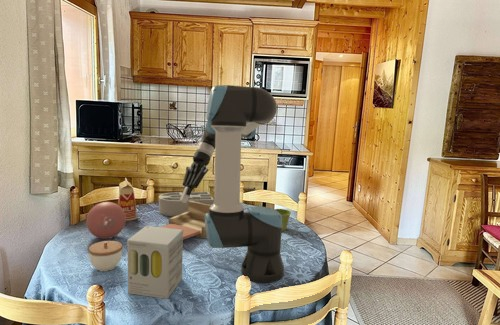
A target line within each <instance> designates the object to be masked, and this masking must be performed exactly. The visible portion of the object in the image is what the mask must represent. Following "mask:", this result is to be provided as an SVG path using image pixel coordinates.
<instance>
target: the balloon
mask: <svg viewBox="0 0 500 325" xmlns="http://www.w3.org/2000/svg"><path fill="white" fill-rule="evenodd" d="M85 220H86V227H87V229H88V231H89V233H91V234H92V235H93V236H94V237H95V238H99V239H103V240H104V239H105V240H107V239H113V238H115V237H116V236H118V235H119V234H120V233H121V232H122V231H123V229H124V228H125V226H126V222H127V221H126V216H125V213H124V211H123V209H122V208H121V207H120V206H119V205H118V203H116V202H111V201H103V202H99V203H97V204H95V205H94V206H93V207H92V208H91V209H90V210H89V211H88V213H87V216H86V219H85Z"/></svg>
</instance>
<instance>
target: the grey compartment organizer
mask: <svg viewBox="0 0 500 325" xmlns="http://www.w3.org/2000/svg"><path fill="white" fill-rule="evenodd" d="M182 192H183V191H181V192H180V191H179V192H177V191H176V192H164V193H161V194H160V195H158V212H159V214H161V215H162V216H166V217H175V216H177V215H180V214H182V213H185V212H187V211H188V201H194V202H199V203H204V204H209V205H213V204H214V197H213V196H211V193H210V192H209V191H192V192H191V194H190V196H189V198H188V200H187V202H186V203H183V202H181V201H180V198H181V196H182Z"/></svg>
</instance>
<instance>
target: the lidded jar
mask: <svg viewBox="0 0 500 325" xmlns="http://www.w3.org/2000/svg"><path fill="white" fill-rule="evenodd" d="M88 253H89V261H90V263H91V266H92V267H93V268H95V269H96V270H97V269H98V270H100V271H99V272H103V271H104V272H109V271H108V270H110V271H112V270H114V269H115V268H116V267H117V266H118V265H119V263H120V261H121V259H122V253H123V244H122V243H121V242H120V241H116V240H103V241H99V242H95V243H92V244H91V245H90V246H89V247H88ZM98 270H97V271H98Z"/></svg>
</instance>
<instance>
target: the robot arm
mask: <svg viewBox="0 0 500 325" xmlns="http://www.w3.org/2000/svg"><path fill="white" fill-rule="evenodd" d="M277 110H278V106H277V102H276V99H275V97H273V95H272V94H271V93H270V92H269V91H267V90H266V89H264V88H261V87H257V86H256V87H254V86H253V87H252V86H241V85H229V84H224V85H223V84H222V85H220V84H219V85H214V86H213V87H212V88H211V90H210V93H209V97H208V102H207V108H206V123H205V126H204V127H205V128H204V131H203V134H202V137H201V139H200V142H199V143H198V145H197V147H196V151H195V152H194V155H193V157H192V161H193V162H192V163H191V164H190V166H185V167H186V168H185V174H184V177H183V181H182V186H183V187H184V188H183V191H181V192H182V196H181V198H180V201H181V202H183V203H186V202H187V200H188V198H189V196H190V194H191V192H193V190H194V189H197V188H198V186H199V185H200V183H202V180H203V179H204V177H205V176H206V174H207V173H208V172H209V171H210V169H208V167H207V166H209V164H210V162H211V158H212V157H213V154H214V185H213V186H214V189H213V190H214V195H213V196H214V197H213V199H214V203H213V205H212V206H210V209H209V213H206V214H205V227H206V234H207V237H206V238H207V242H208V245H209V247H211V248H212V249H215V248H216V249H225V248H227V249H228V248H230V249H231V248H244V247H245V248H246V247H247V248H246V249H247V250H246V254H245V256H244V258H243V260H242V263H241V274H242V276H243V275H245V276H248V277H249V278H250V280H249V281H252V282H256V283H262V284H263V283H265V284H267V283H274V282H277V281H279V280H281V279H283V277H284V276H285V274H284V273H285V267H284V262H283V259H282V253H281V247H282V233H283V231H282V227H283V226H282V215H281V214H280V213H279V212H278V211H276V210H274V208H269V207H267V206H259V205H258V206H257V205H254V206H251V207H249V210H248V211H246V212H245V210H244V206H243V205H241V203H240V198H241V196H240V194H241V193H240V192H241V167H242V166H241V161H242V158H241V156H242V138H254V137H255V136H256V133H257V128H259V127H260V126H262V125H266V124H268V123H270V122H271V121H272V120H273V119H274V118H275V117H276V115H277Z"/></svg>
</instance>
